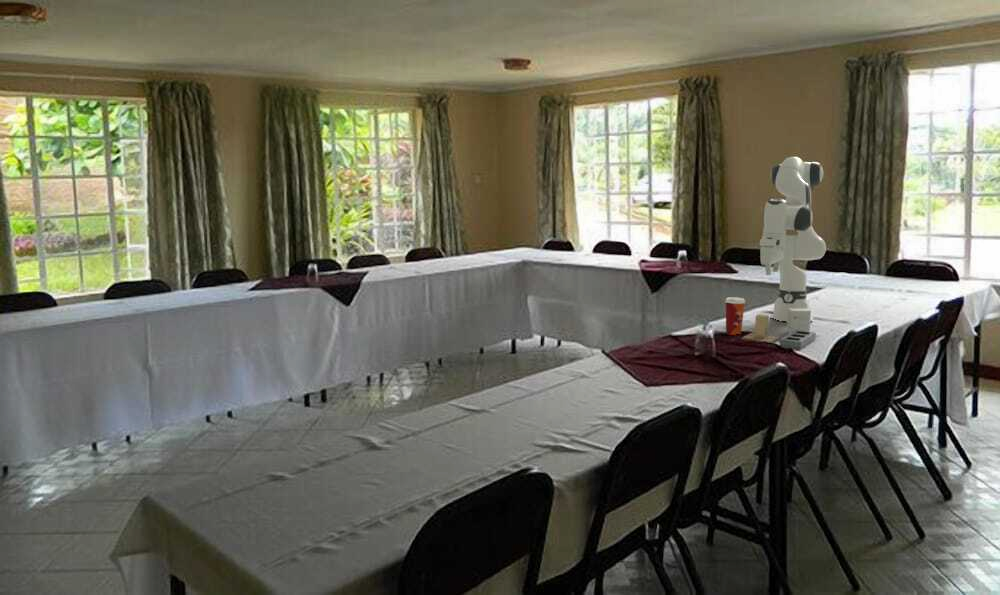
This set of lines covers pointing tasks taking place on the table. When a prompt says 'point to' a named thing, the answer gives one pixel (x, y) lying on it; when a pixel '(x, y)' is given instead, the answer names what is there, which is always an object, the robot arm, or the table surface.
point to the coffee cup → (734, 315)
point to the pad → (752, 338)
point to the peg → (761, 326)
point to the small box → (798, 320)
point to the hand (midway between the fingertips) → (772, 273)
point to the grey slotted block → (797, 339)
